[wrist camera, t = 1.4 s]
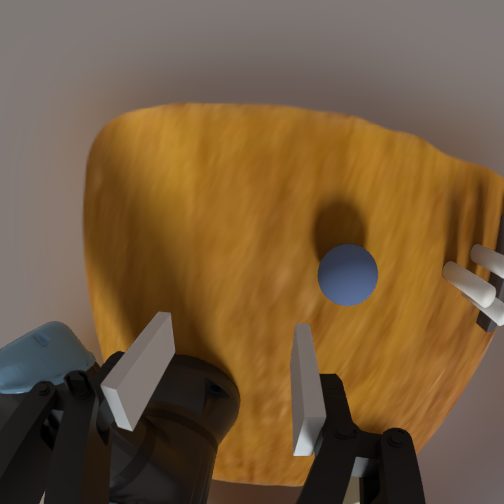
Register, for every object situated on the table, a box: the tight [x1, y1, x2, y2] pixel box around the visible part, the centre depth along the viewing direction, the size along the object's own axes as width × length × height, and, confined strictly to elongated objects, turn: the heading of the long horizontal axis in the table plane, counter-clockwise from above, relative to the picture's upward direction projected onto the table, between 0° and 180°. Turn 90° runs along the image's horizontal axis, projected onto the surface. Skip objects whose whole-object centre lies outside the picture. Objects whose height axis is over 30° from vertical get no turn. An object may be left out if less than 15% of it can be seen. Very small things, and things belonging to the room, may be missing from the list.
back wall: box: [476, 216, 504, 332], centre depth 25 cm, size 2×16×3 cm, turn 178°
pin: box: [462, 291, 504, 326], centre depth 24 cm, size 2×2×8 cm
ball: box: [318, 244, 378, 306], centre depth 25 cm, size 6×6×6 cm
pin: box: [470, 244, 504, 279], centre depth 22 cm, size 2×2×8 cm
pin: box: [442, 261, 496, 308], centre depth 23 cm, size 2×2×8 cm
